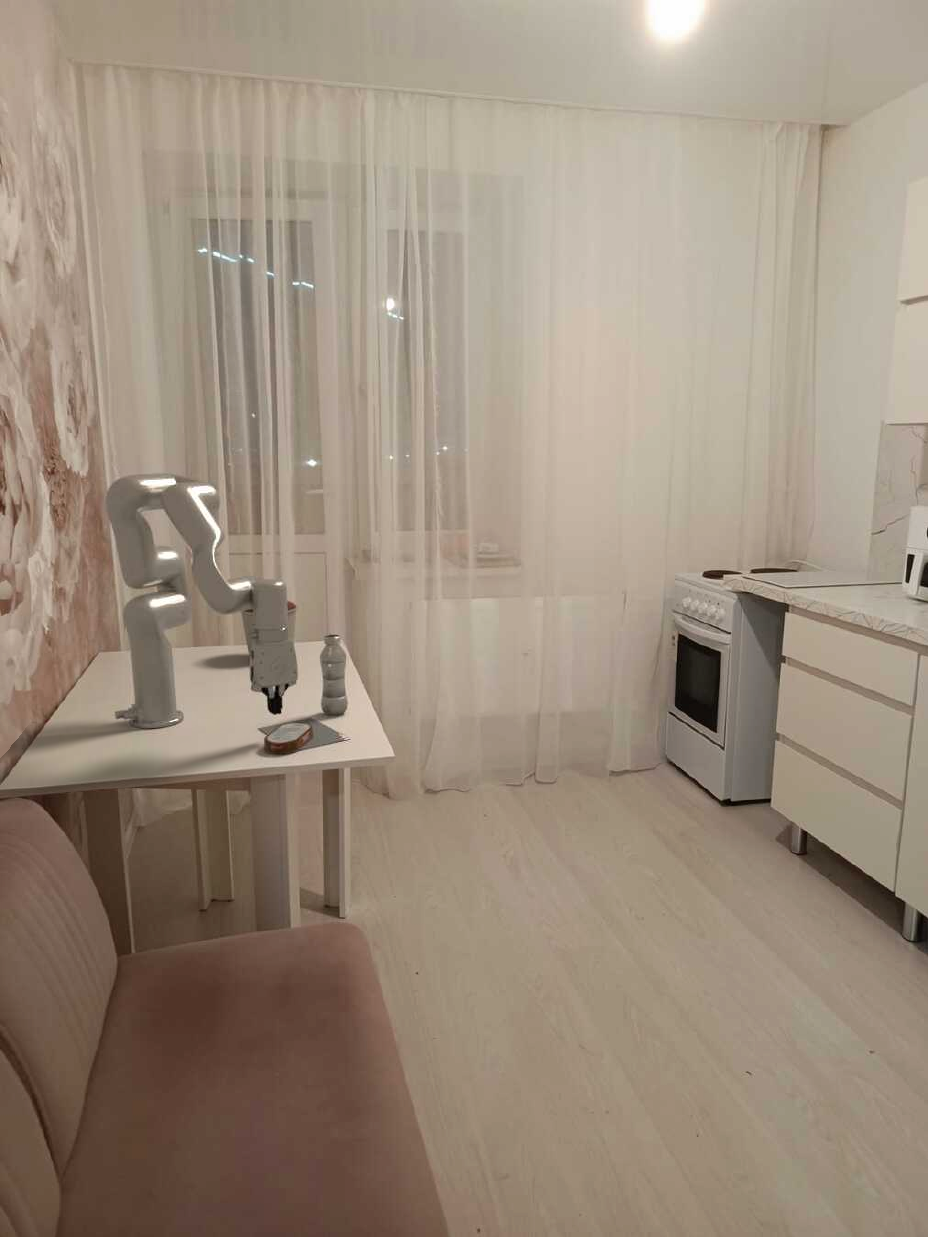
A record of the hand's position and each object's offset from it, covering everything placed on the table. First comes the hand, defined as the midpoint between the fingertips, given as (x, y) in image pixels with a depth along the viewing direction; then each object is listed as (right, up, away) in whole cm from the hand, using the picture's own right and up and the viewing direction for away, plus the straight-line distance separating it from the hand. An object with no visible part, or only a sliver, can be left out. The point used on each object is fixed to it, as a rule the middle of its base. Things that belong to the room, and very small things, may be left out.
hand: (275, 712), depth 204 cm
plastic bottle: (+11, -3, +21) cm, 23 cm away
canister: (-18, +9, +78) cm, 80 cm away
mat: (+5, -6, +5) cm, 9 cm away
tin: (-1, -5, -1) cm, 5 cm away
